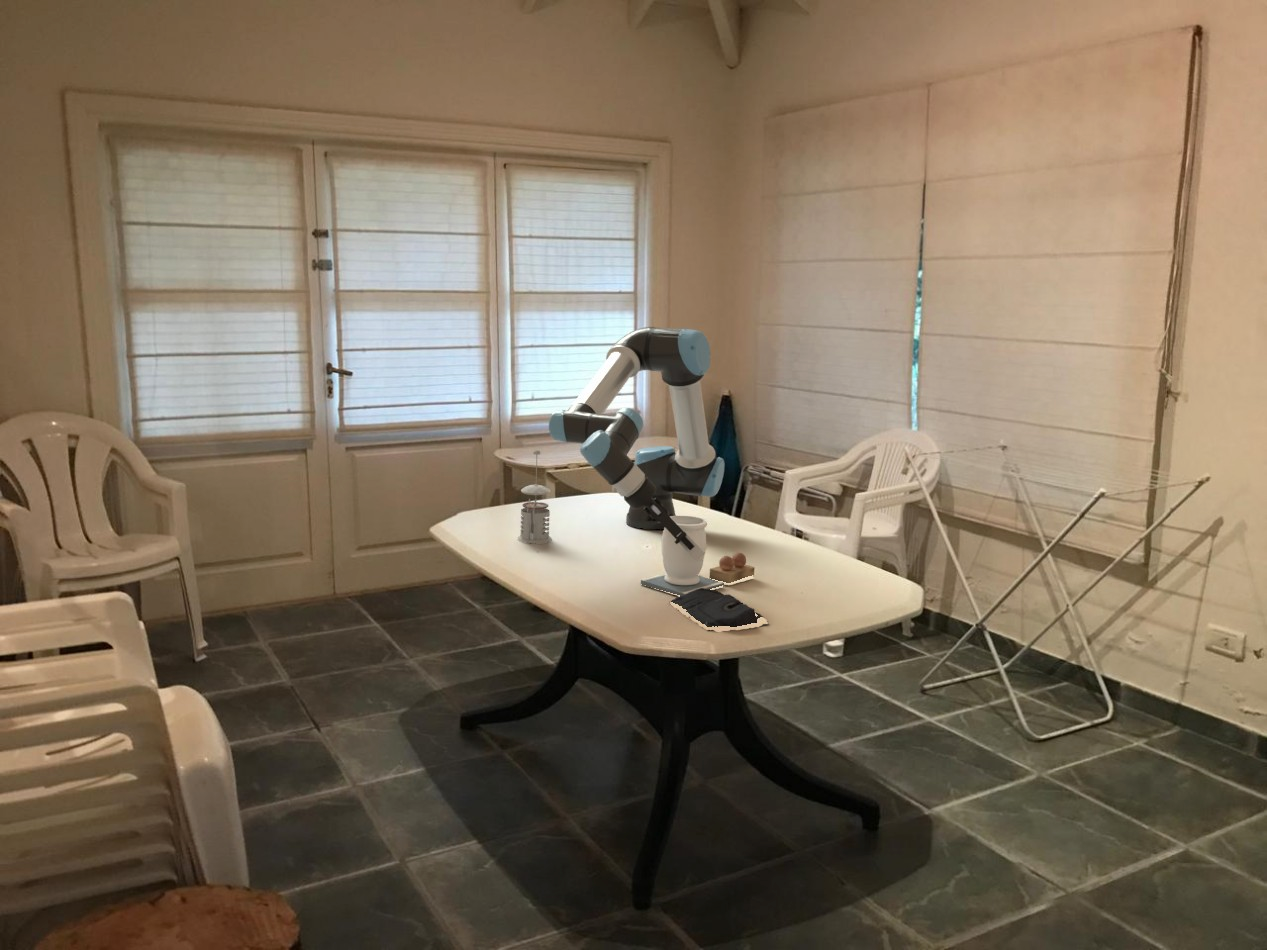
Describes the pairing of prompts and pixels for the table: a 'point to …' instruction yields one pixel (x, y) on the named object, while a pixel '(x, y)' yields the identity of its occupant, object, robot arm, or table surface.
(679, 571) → the jar
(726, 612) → the dark flat piece
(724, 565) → the ball rack
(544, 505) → the french press
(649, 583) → the slate card
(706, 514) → the table surface
